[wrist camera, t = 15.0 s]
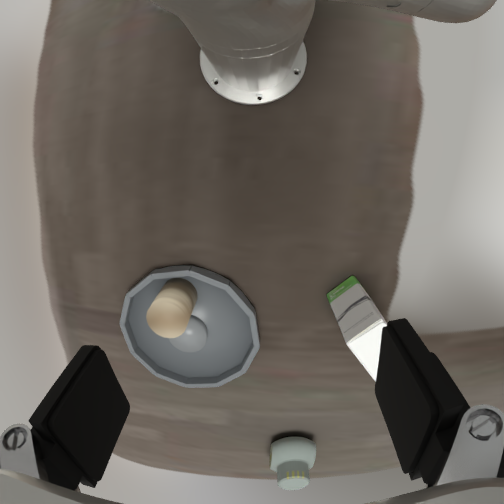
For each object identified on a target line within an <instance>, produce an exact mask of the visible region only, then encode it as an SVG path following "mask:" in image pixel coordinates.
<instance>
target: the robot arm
mask: <svg viewBox="0 0 504 504" xmlns="http://www.w3.org/2000/svg"><path fill="white" fill-rule="evenodd" d="M149 1H151V2H152V3H154V4H156V5H158V6H160V7H161V8H163V9H165V10H167V11H169V12H171V13H173V14H175V15H176V16H178V17H179V18H180V19H181V20H182V22H183V23H184V24H185V26H186V27H187V28H188V30H189V31H190V33H191V34H192V36H193V37H194V39H195V41H196V42H197V43H198V45H199V46H200V48H201V50H200V66H201V71H202V73H203V76H204V78H205V80H206V81H207V83H208V84H209V85H210V86H211V88H212V89H213V90H214V91H215V92H216V93H218V94H219V95H221V96H222V97H223V98H225V99H228V100H230V101H232V102H235V103H239V104H243V105H263V104H267V103H271V102H274V101H276V100H279V99H281V98H283V97H284V96H286V95H287V94H289V93H290V92H291V91H292V90H293V89H294V88H295V87H296V86H297V84H298V83H299V82H300V80H301V78H302V76H303V74H304V72H305V68H306V64H307V53H306V47H305V44H304V42H303V39H304V36H305V34H306V32H307V29H308V27H309V24H310V22H311V19H312V16H313V13H314V8H315V0H149ZM316 1H318V0H316ZM330 1H339V2H346V3H353V4H360V5H366V6H371V7H377V8H382V9H387V10H391V11H396V12H400V13H404V14H409V15H413V16H417V17H420V18H425V19H429V20H433V21H438V22H445V23H463V22H469V21H471V20H474V19H477V18H479V17H480V16H482V15H483V14H485V13H486V12H487V11H488V10H489V9H490V8H491V7H492V6H493V5H494V4H495V2H496V1H497V0H330ZM294 72H298V75H295V74H294ZM216 81H218V84H217V85H215V84H214V82H216ZM258 97H261V98H262V99H261V100H257V98H258ZM375 394H376V398H377V400H378V403H379V406H380V408H381V411H382V414H383V416H384V419H385V422H386V424H387V427H388V430H389V433H390V436H391V438H392V441H393V444H394V447H395V450H396V453H397V456H398V458H399V461H400V464H401V467H402V470H403V472H404V473H405V474H406V473H409V475H410V478H411V480H414V479H417V478H420V477H422V478H423V481H424V483H426V484H427V485H426V486H425V488H424V489H423V490H419V491H415V492H411V493H407V494H403V495H399V496H396V497H392V498H389V499H384V500H380V501H376V502H371V503H366V504H504V414H503V413H502V411H500V410H499V409H498V408H496V407H494V406H491V405H483V404H482V405H477V406H474V407H472V408H470V406H469V405H468V403H467V401H466V400H465V398H464V397H463V395H462V394H461V392H460V390H459V389H458V387H457V386H456V384H455V383H454V381H453V380H452V378H451V377H450V375H449V374H448V372H447V371H446V369H445V368H444V366H443V365H442V363H441V362H440V360H439V359H438V357H437V356H436V355H435V354H434V353H432V352H429V350H428V349H427V347H426V346H425V344H424V343H423V342H422V340H421V339H420V337H419V336H418V334H417V333H416V332H415V330H414V329H413V327H412V326H411V325H410V323H409V322H408V320H407V319H405V318H404V319H398V320H393V321H389V322H388V323H387V326H385V327H383V328H382V335H381V345H380V354H379V362H378V370H377V377H376V384H375ZM129 411H130V405H129V402H128V400H127V398H126V396H125V394H124V392H123V390H122V388H121V386H120V384H119V382H118V380H117V378H116V376H115V374H114V372H113V369H112V367H111V365H110V363H109V361H108V358H107V356H106V354H105V352H104V351H103V350H101V348H100V347H99V346H93V345H84V346H82V347H81V348H80V350H79V351H78V352H77V354H76V355H75V356H74V358H73V359H72V360H71V362H70V363H69V364H68V366H67V367H66V369H65V370H64V371H63V372H62V374H61V375H60V376H59V378H58V379H57V381H56V382H55V383H54V385H53V386H52V387H51V389H50V390H49V392H48V393H47V395H46V396H45V397H44V399H43V400H42V402H41V403H40V405H39V406H38V407H37V409H36V410H35V412H34V413H33V415H32V416H31V418H30V419H29V422H30V424H31V425H32V426H33V427H32V429H31V430H30V429H29V428H28V426H26V425H24V424H15V425H12V426H10V427H8V428H7V429H6V430H5V431H4V432H3V433H2V435H1V437H0V504H122V503H118V502H113V501H109V500H105V499H101V498H97V497H94V496H90V495H86V494H83V493H81V492H80V489H79V487H78V485H79V483H80V482H81V483H82V484H83V485H87V486H90V487H93V488H95V486H96V484H97V481H100V480H101V478H102V476H103V474H104V471H105V469H106V466H107V464H108V461H109V459H110V456H111V454H112V452H113V449H114V447H115V444H116V442H117V440H118V437H119V435H120V433H121V430H122V428H123V425H124V423H125V421H126V418H127V416H128V414H129Z"/></svg>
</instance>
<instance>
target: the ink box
mask: <svg viewBox="0 0 504 504" xmlns="http://www.w3.org/2000/svg"><path fill="white" fill-rule="evenodd" d="M327 298H328V300H329V303H330V305H331V308H332V310H333V312H334V315H335V317H336V320H337V322H338V324H339V327H340V329H341V332H342V334H343V337H344V339H345V342H346V344H347V345H348V347H349V348H350V349H351V351H352V352H353V353H354V355H355V356H356V357H357V358H358V360H359V361H360V362H361V364H362V365H363V366H364V367H365V369H366V370H367V371H368V373H369V374H370V375H371V377H372V378H373V379H374V380H375V382H376V377H377V370H378V362H379V354H380V345H381V335H382V328H383V327H385V326H387V323H386V321H385V319H384V318H383V316H382V315H381V313H380V312H379V310H378V309H377V307H376V306H375V304H374V303H373V301H372V300H371V298H370V297H369V295H368V294H367V292H366V291H365V290H364V288H363V287H362V286H361V284H360V283H359V281H358V280H357V279H356V277H355V276H351V277H349V278H348V279H347V280H345V281H344V282H343V283H341V284H340V285H339V286H337V287H336V288H334V289H333V290H332V291H330V292H329V293H328V294H327Z"/></svg>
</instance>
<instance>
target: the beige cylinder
mask: <svg viewBox="0 0 504 504" xmlns="http://www.w3.org/2000/svg"><path fill="white" fill-rule="evenodd" d="M196 301H197V291H196V288H195V287H194V285H193V284H192V283H191V282H189V281H188V280H186V279H183V278H172V279H170V280H168V281H167V282H166V283H165V284H164V286H163V287H162V289H161V290H160V292H159V293H158V295H157V297H156V298H155V300H154V301H153V303H152V304H151V306H150V308H149V309H148V311H147V315H146V318H147V323H148V325H149V327H150V328H151V329H152V330H153V331H154V332H155V333H156V334H158V335H159V336H162V337H165V338H176V337H179V336H180V335H182V334H183V333H184V331H185V330H186V327H187V325H188V322H189V319H190V317H191V314H192V312H193V309H194V306H195V304H196Z"/></svg>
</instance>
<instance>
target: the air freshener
mask: <svg viewBox="0 0 504 504" xmlns="http://www.w3.org/2000/svg"><path fill="white" fill-rule="evenodd" d="M315 457H316V444H315V443H314V442H313V441H311V440H309V439H307V438H303V437H286V438H282V439H279V440H277V441H275V442H273V443H272V444H271V449H270V463H269V466H270V469H271V470H273V471H275V472H277V478H278V486H279V487H281V488H282V489H285V490H297V489H301V488H304V487H306V486H307V485H308V484H309V482H310V478H309V469H310V468H312V467H313V465H314V462H315Z"/></svg>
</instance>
